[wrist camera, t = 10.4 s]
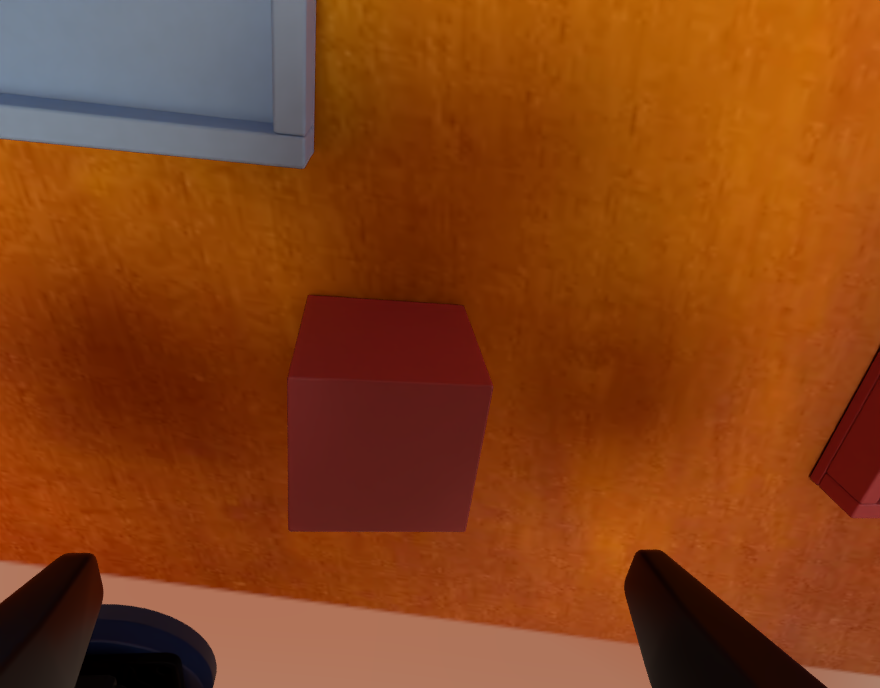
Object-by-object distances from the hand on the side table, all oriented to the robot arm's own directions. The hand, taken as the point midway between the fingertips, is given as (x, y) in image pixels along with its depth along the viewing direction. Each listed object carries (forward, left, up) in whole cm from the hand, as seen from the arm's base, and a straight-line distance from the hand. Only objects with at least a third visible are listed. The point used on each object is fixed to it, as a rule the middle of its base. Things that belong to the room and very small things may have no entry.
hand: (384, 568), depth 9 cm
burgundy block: (0, 0, -7) cm, 7 cm away
